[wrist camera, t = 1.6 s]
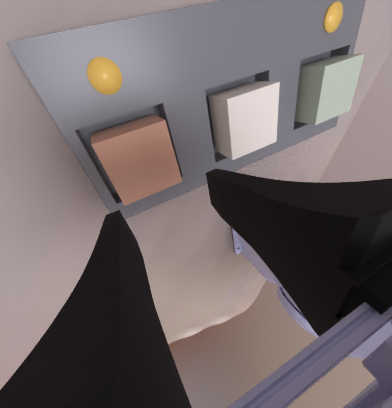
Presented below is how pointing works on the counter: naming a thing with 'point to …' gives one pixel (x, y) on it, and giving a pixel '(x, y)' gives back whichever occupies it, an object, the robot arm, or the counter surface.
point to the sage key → (327, 88)
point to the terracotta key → (137, 157)
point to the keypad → (183, 77)
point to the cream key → (245, 118)
